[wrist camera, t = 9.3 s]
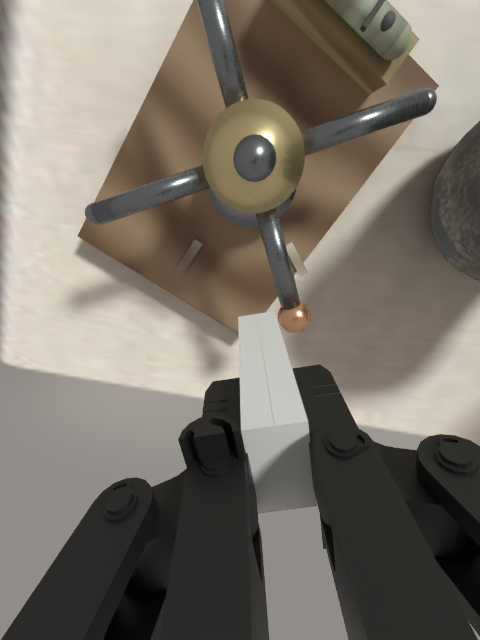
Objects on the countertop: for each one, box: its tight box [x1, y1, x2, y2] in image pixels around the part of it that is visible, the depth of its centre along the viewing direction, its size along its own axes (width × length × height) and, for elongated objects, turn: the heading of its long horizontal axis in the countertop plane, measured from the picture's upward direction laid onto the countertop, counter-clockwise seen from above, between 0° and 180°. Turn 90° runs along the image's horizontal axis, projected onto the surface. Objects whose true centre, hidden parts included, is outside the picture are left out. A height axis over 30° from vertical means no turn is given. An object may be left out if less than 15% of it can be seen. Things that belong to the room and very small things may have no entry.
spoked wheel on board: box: [78, 0, 439, 334], centre depth 25 cm, size 26×19×7 cm
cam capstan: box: [85, 0, 437, 333], centre depth 23 cm, size 23×22×9 cm
